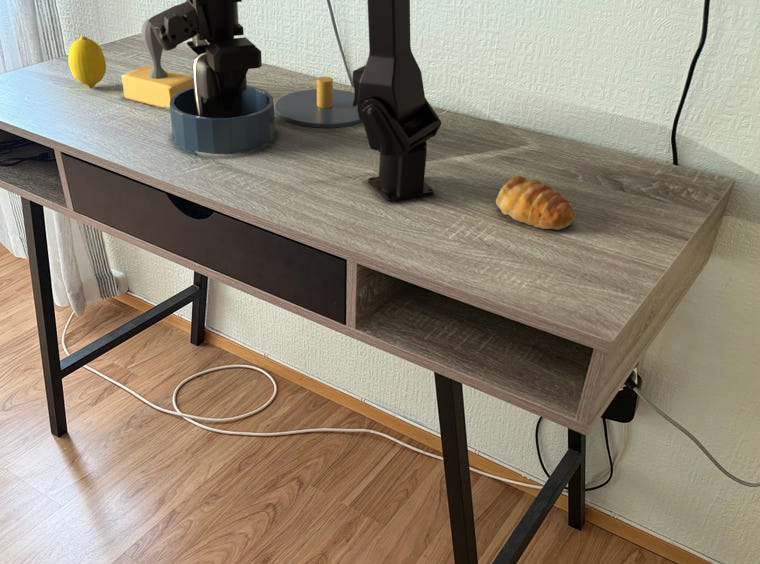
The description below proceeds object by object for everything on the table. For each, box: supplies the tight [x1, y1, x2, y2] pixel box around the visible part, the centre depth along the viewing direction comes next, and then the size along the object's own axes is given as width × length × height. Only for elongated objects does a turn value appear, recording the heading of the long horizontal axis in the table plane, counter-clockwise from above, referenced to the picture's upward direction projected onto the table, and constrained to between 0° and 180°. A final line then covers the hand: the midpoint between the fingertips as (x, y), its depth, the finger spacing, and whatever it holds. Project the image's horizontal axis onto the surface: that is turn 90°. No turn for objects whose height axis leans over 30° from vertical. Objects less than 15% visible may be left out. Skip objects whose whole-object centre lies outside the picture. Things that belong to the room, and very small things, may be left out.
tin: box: [169, 84, 276, 156], centre depth 115 cm, size 14×14×5 cm
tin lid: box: [274, 76, 362, 129], centre depth 123 cm, size 15×15×5 cm
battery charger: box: [191, 52, 248, 118], centre depth 113 cm, size 7×4×11 cm, turn 132°
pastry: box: [495, 175, 576, 231], centre depth 98 cm, size 9×7×4 cm
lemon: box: [67, 35, 107, 89], centre depth 129 cm, size 6×6×8 cm
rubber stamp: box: [121, 18, 194, 109], centre depth 124 cm, size 10×6×12 cm, turn 60°
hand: (222, 103), depth 113 cm, fingers closed on battery charger, 4 cm apart
